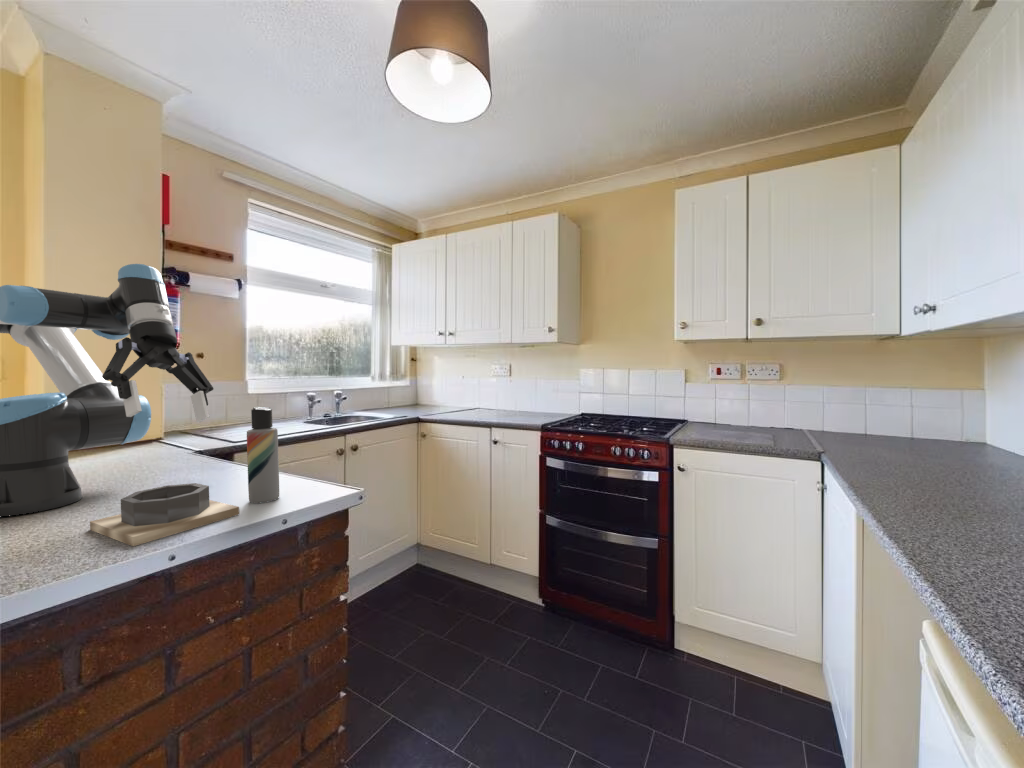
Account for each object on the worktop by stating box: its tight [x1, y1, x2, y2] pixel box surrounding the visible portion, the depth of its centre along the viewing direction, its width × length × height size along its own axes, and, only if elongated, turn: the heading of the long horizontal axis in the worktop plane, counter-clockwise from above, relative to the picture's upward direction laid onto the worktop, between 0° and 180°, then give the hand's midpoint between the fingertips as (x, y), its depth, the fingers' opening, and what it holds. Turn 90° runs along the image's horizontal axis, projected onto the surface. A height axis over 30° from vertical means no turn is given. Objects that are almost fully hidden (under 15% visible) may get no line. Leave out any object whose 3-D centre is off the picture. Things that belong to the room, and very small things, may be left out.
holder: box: [89, 482, 240, 547], centre depth 75 cm, size 16×16×6 cm
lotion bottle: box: [246, 406, 280, 504], centre depth 88 cm, size 6×6×20 cm
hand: (171, 417), depth 84 cm, fingers open, 13 cm apart
